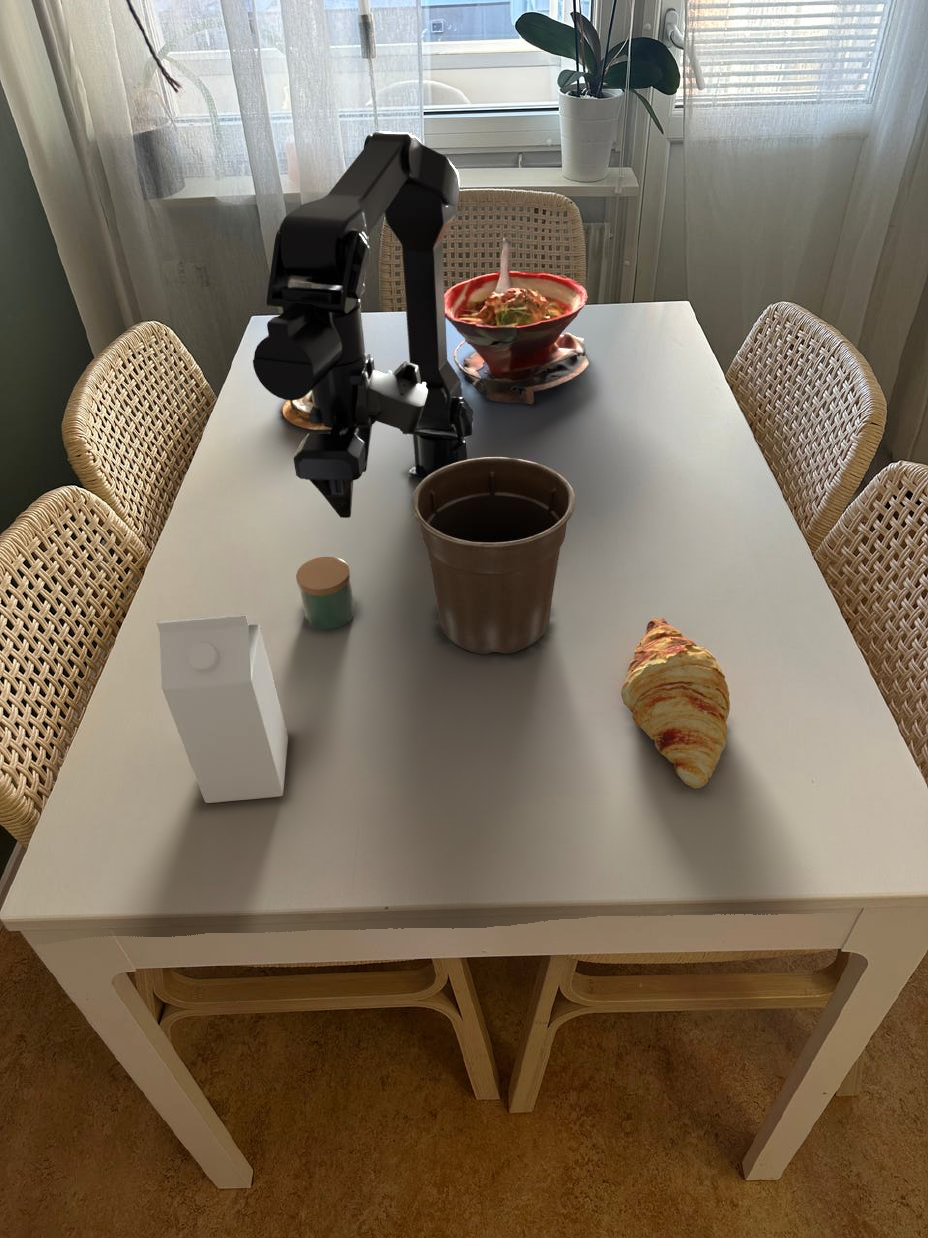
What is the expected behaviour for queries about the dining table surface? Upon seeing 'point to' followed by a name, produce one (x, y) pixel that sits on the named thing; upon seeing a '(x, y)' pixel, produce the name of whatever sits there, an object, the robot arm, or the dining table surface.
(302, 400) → the stacked pancakes
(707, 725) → the croissant
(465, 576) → the plant pot
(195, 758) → the milk carton
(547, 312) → the stew
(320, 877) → the dining table surface
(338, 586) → the jar
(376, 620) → the dining table surface
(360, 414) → the robot arm
